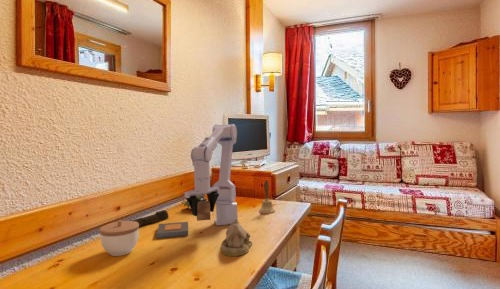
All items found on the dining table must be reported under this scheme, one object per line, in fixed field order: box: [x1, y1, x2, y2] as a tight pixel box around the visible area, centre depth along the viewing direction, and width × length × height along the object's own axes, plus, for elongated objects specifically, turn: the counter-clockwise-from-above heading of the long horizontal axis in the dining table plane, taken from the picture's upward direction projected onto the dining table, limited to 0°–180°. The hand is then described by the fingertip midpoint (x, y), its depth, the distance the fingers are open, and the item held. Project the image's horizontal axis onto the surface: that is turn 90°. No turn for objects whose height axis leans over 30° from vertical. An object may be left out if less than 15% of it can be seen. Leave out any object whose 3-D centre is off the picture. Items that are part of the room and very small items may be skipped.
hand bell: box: [258, 179, 276, 215], centre depth 152 cm, size 8×8×16 cm
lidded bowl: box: [99, 219, 140, 257], centre depth 105 cm, size 13×13×11 cm
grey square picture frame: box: [155, 221, 189, 240], centre depth 124 cm, size 12×12×2 cm
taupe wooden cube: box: [196, 200, 211, 222], centre depth 115 cm, size 5×5×6 cm
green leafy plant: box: [181, 194, 208, 212], centre depth 159 cm, size 11×11×12 cm
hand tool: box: [128, 209, 169, 227], centre depth 136 cm, size 19×4×5 cm, turn 136°
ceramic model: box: [220, 220, 253, 257], centre depth 106 cm, size 14×11×10 cm
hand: (203, 213), depth 116 cm, fingers closed on taupe wooden cube, 7 cm apart
